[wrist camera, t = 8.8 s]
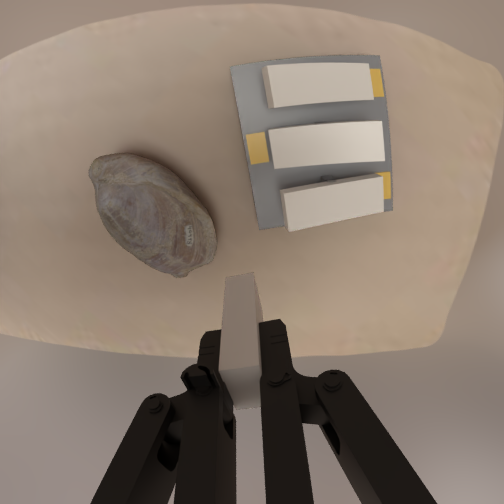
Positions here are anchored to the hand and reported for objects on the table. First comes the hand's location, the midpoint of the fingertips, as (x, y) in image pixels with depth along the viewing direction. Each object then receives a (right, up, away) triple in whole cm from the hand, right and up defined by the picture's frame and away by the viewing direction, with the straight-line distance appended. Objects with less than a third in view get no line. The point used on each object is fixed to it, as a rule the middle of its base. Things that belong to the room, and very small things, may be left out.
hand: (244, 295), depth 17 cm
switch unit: (+7, +15, +14) cm, 21 cm away
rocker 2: (+7, +12, +9) cm, 17 cm away
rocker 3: (+8, +7, +11) cm, 16 cm away
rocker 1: (+6, +17, +7) cm, 19 cm away
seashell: (-10, +8, +18) cm, 22 cm away
